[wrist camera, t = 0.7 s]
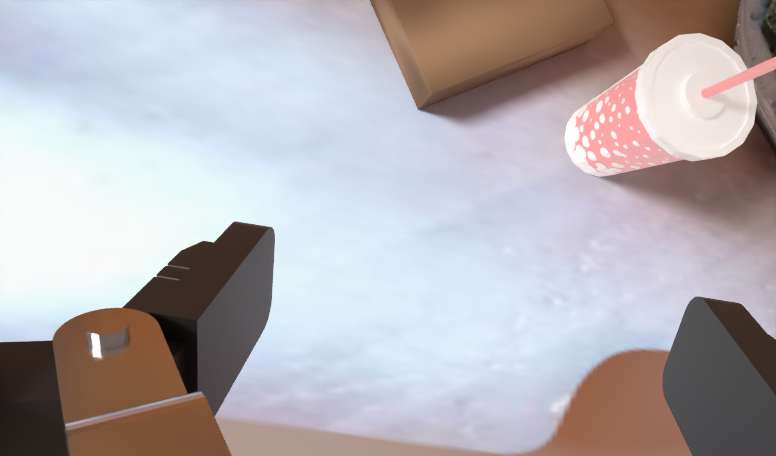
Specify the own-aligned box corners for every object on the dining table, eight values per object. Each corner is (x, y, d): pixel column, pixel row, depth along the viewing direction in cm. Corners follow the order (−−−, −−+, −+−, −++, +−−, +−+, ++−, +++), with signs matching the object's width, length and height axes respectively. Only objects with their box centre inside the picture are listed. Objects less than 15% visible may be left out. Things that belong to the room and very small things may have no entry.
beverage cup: (599, 209, 37) (798, 163, 23) (533, 134, 36) (696, 42, 23) (660, 145, 38) (883, 66, 24) (598, 72, 38) (789, -50, 24)
